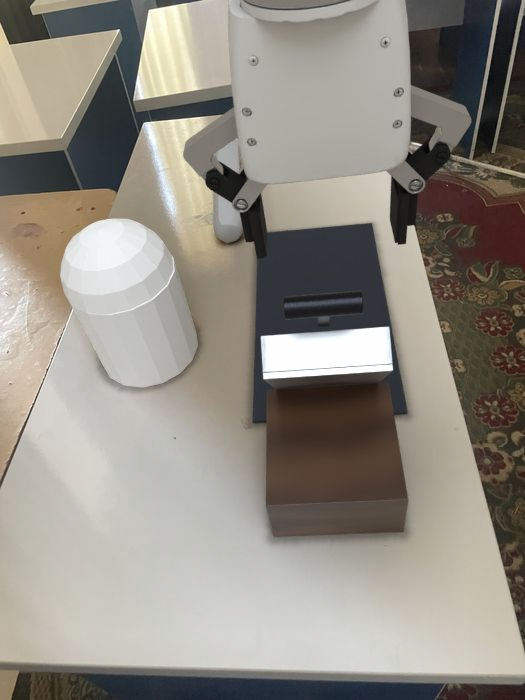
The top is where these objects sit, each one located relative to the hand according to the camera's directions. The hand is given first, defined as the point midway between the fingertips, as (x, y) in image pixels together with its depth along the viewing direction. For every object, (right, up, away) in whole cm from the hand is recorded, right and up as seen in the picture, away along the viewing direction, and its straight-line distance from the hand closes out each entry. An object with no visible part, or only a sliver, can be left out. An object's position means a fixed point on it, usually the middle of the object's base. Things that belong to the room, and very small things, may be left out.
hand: (329, 239), depth 40 cm
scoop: (+1, -11, +11) cm, 15 cm away
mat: (+3, -2, +38) cm, 38 cm away
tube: (-10, +18, +58) cm, 61 cm away
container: (-20, -8, +37) cm, 43 cm away
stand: (+3, -21, +21) cm, 30 cm away
